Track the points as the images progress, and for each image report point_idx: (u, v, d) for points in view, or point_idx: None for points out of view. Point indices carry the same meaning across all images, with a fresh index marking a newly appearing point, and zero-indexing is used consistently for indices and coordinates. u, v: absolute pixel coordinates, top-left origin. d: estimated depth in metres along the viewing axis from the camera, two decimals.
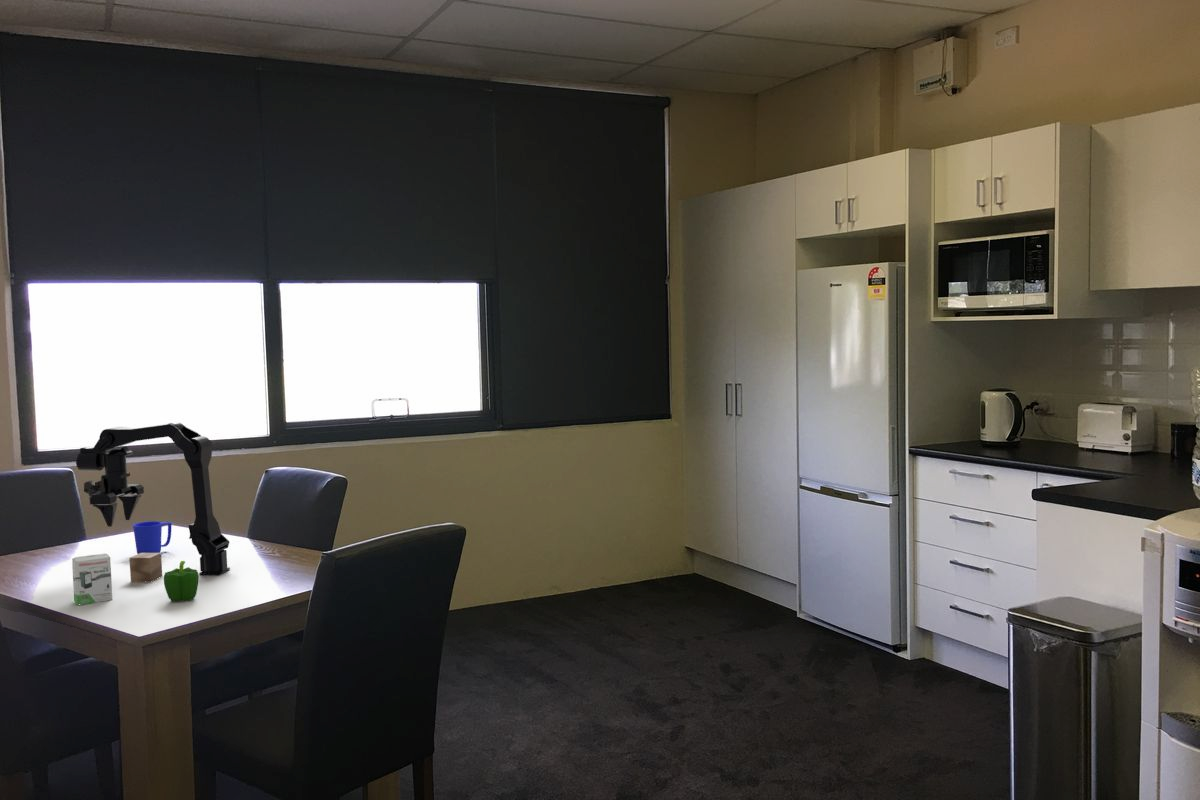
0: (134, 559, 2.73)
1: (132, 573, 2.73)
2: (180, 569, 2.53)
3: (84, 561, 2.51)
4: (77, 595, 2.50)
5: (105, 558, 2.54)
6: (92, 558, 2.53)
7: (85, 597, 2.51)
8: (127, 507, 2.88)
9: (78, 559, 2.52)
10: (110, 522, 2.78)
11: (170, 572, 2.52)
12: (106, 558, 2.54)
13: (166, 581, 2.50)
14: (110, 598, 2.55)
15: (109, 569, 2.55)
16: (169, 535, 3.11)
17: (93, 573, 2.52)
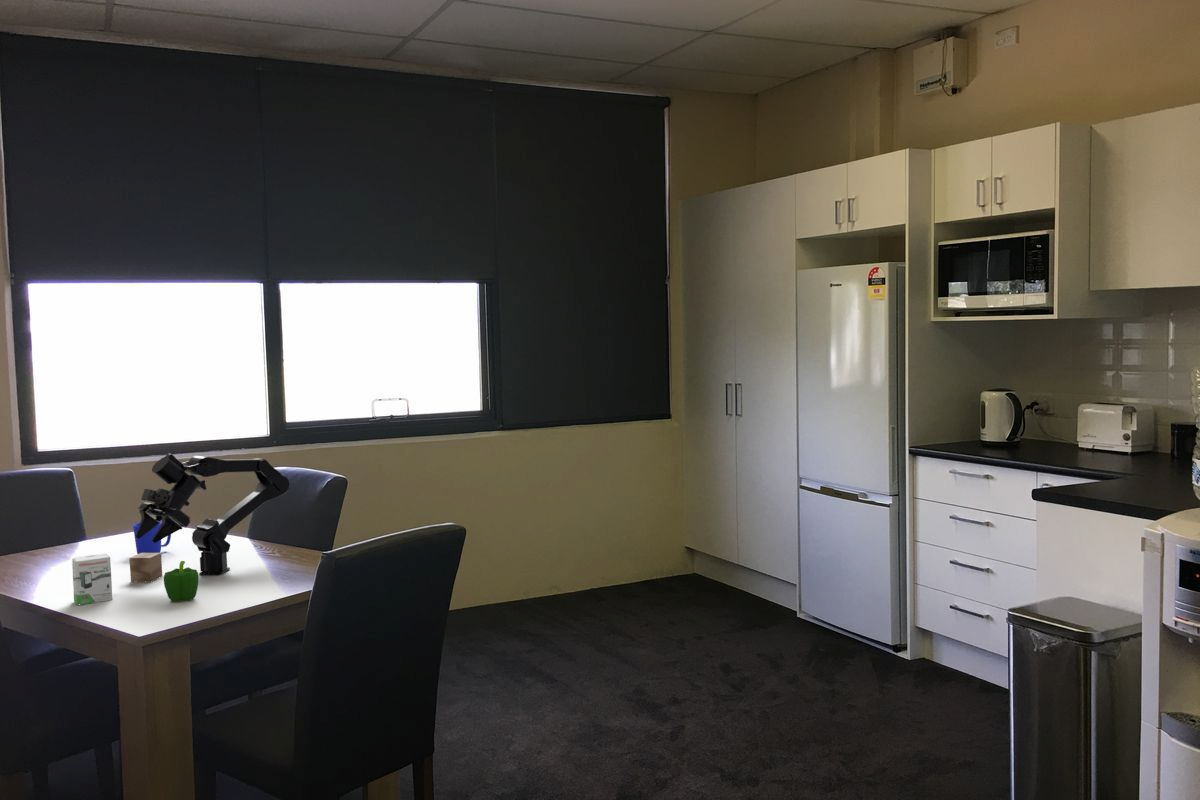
0: (134, 559, 2.73)
1: (132, 573, 2.73)
2: (180, 569, 2.53)
3: (84, 561, 2.51)
4: (77, 595, 2.50)
5: (105, 558, 2.54)
6: (92, 558, 2.53)
7: (85, 597, 2.51)
8: (145, 526, 2.70)
9: (78, 559, 2.52)
10: (158, 539, 2.63)
11: (170, 572, 2.52)
12: (106, 558, 2.54)
13: (166, 581, 2.50)
14: (110, 598, 2.55)
15: (109, 569, 2.55)
16: (169, 535, 3.11)
17: (93, 573, 2.52)
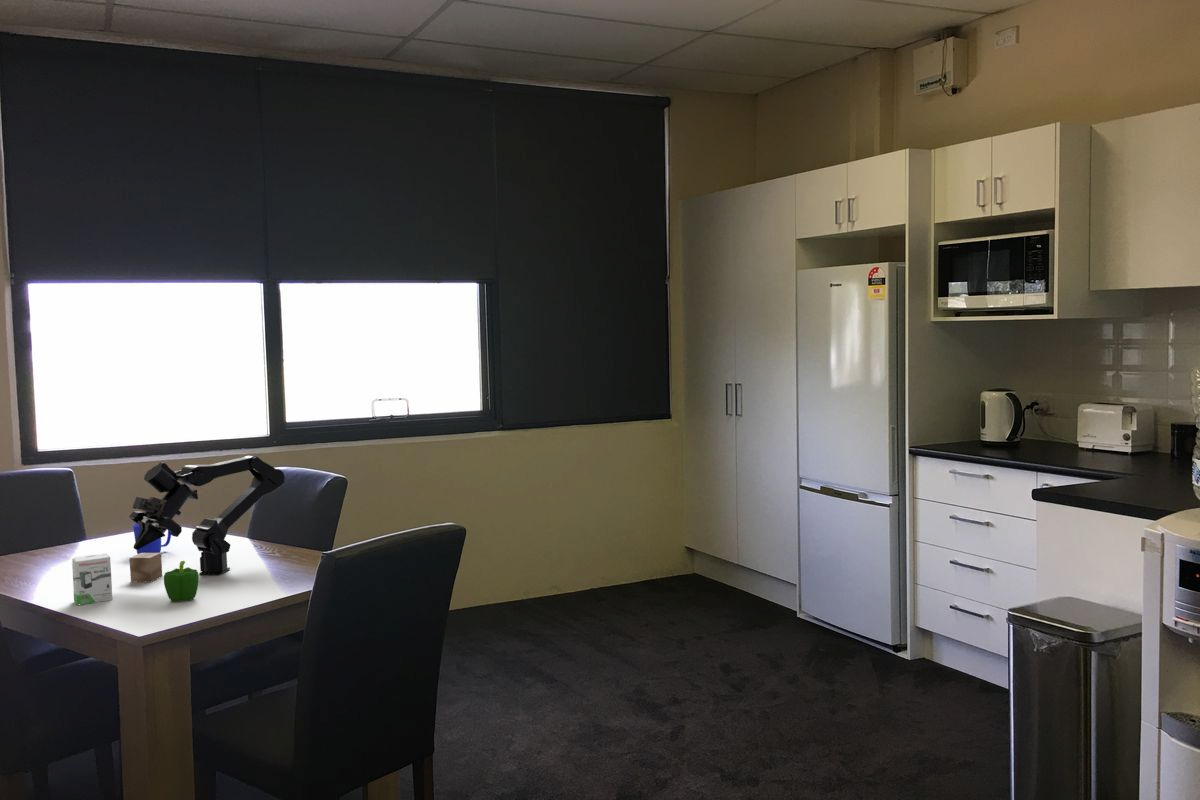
0: (134, 559, 2.73)
1: (132, 573, 2.73)
2: (180, 569, 2.53)
3: (84, 561, 2.51)
4: (77, 595, 2.50)
5: (105, 558, 2.54)
6: (92, 558, 2.53)
7: (85, 597, 2.51)
8: None
9: (78, 559, 2.52)
10: (141, 546, 2.64)
11: (170, 572, 2.52)
12: (106, 558, 2.54)
13: (166, 581, 2.50)
14: (110, 598, 2.55)
15: (109, 569, 2.55)
16: (169, 535, 3.11)
17: (93, 573, 2.52)
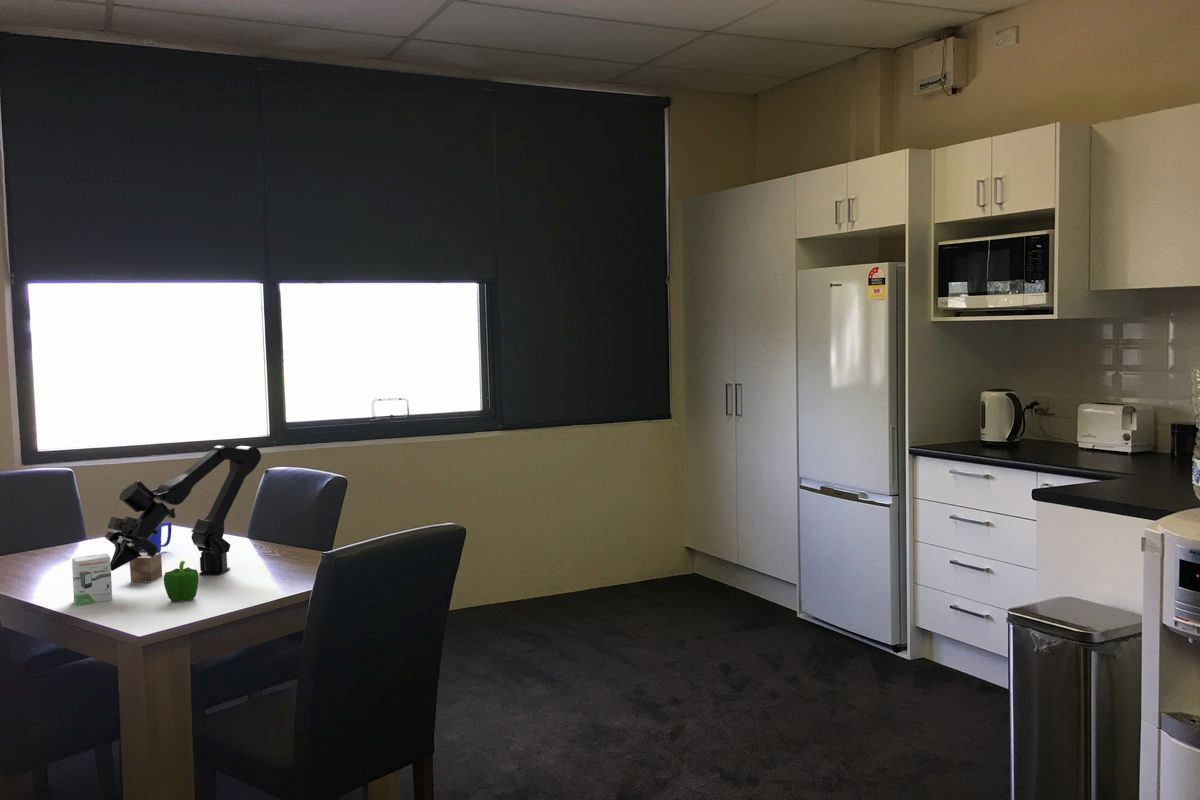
0: (134, 559, 2.73)
1: (132, 573, 2.73)
2: (180, 569, 2.53)
3: (84, 561, 2.51)
4: (77, 595, 2.50)
5: (105, 558, 2.54)
6: (92, 558, 2.53)
7: (85, 597, 2.51)
8: None
9: (78, 559, 2.52)
10: (116, 567, 2.59)
11: (170, 572, 2.52)
12: (106, 558, 2.54)
13: (166, 581, 2.50)
14: (110, 598, 2.55)
15: (109, 569, 2.55)
16: (169, 535, 3.11)
17: (93, 573, 2.52)
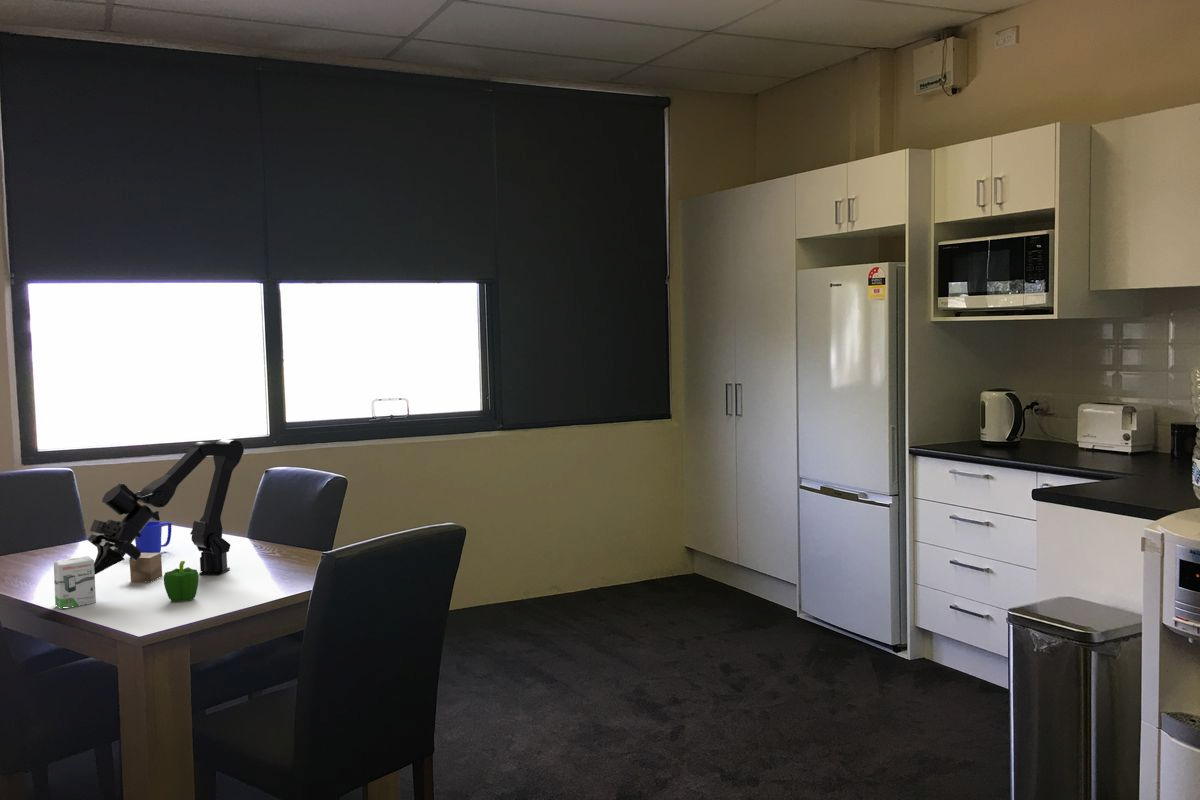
0: None
1: (132, 573, 2.73)
2: (180, 569, 2.53)
3: (68, 564, 2.47)
4: (61, 599, 2.47)
5: (89, 561, 2.51)
6: (75, 561, 2.50)
7: (69, 601, 2.48)
8: None
9: (61, 563, 2.48)
10: (99, 571, 2.55)
11: (170, 572, 2.52)
12: (90, 561, 2.51)
13: (166, 581, 2.50)
14: (94, 601, 2.52)
15: (93, 572, 2.52)
16: (169, 535, 3.11)
17: (77, 577, 2.49)
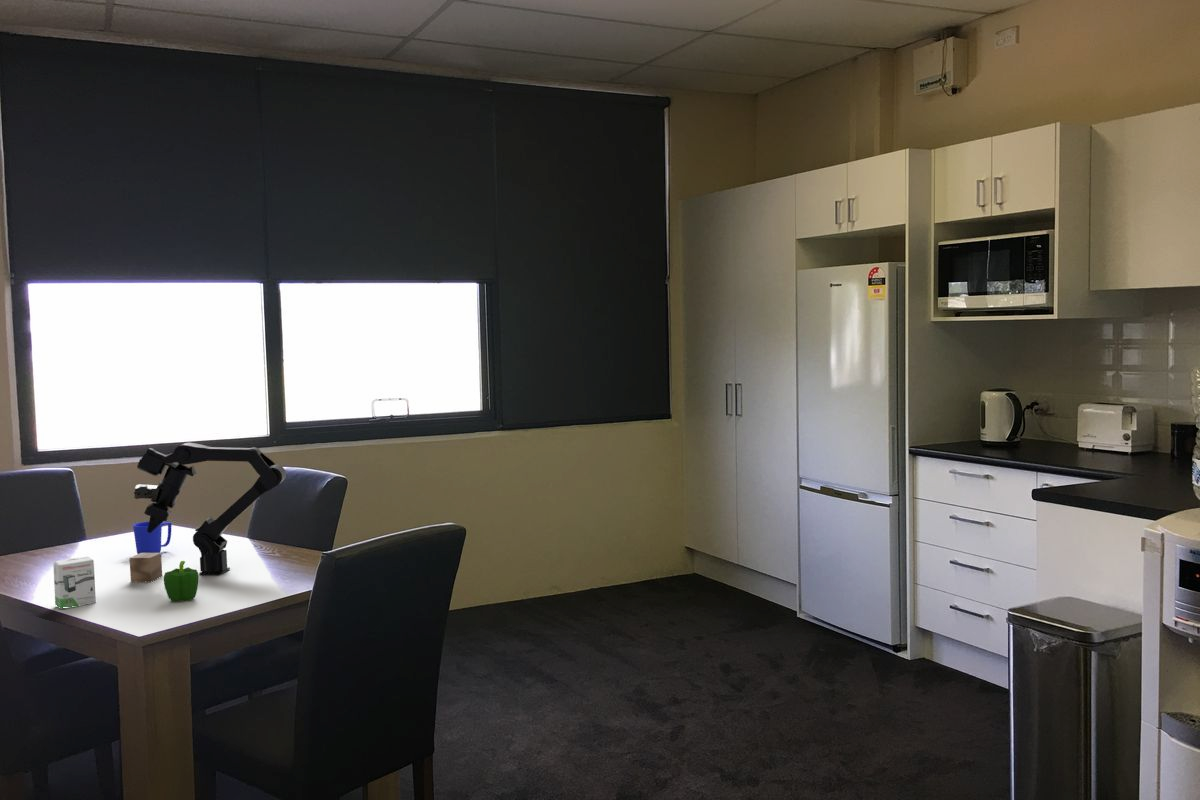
0: (134, 559, 2.73)
1: (132, 573, 2.73)
2: (180, 569, 2.53)
3: (68, 564, 2.48)
4: (61, 599, 2.47)
5: (88, 561, 2.51)
6: (75, 561, 2.50)
7: (69, 601, 2.48)
8: None
9: (61, 563, 2.48)
10: (152, 529, 2.78)
11: (170, 572, 2.52)
12: (89, 561, 2.51)
13: (166, 581, 2.50)
14: (93, 601, 2.52)
15: (92, 572, 2.52)
16: (169, 535, 3.11)
17: (77, 577, 2.49)
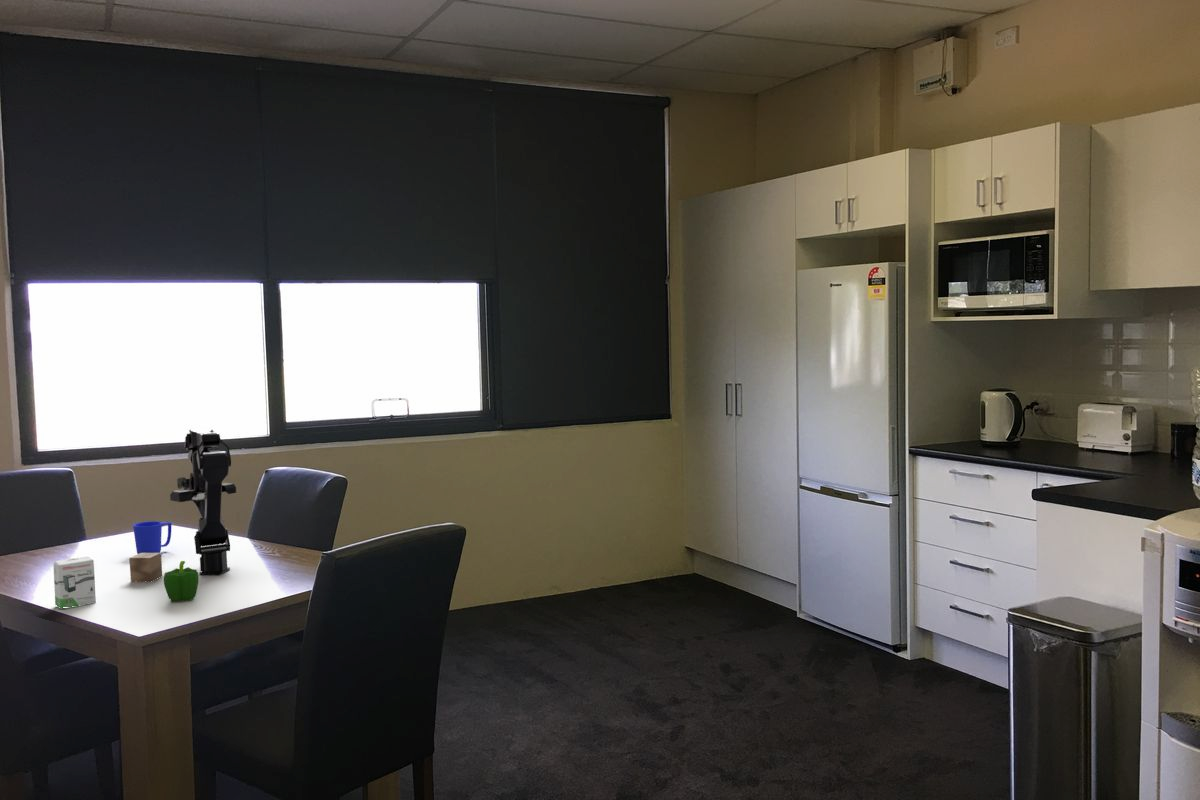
0: (134, 559, 2.73)
1: (132, 573, 2.73)
2: (180, 569, 2.53)
3: (68, 564, 2.48)
4: (61, 599, 2.47)
5: (88, 561, 2.51)
6: (75, 561, 2.50)
7: (69, 601, 2.48)
8: None
9: (61, 563, 2.48)
10: (204, 516, 2.93)
11: (170, 572, 2.52)
12: (89, 561, 2.51)
13: (166, 581, 2.50)
14: (94, 601, 2.52)
15: (92, 572, 2.52)
16: (169, 535, 3.11)
17: (77, 577, 2.49)
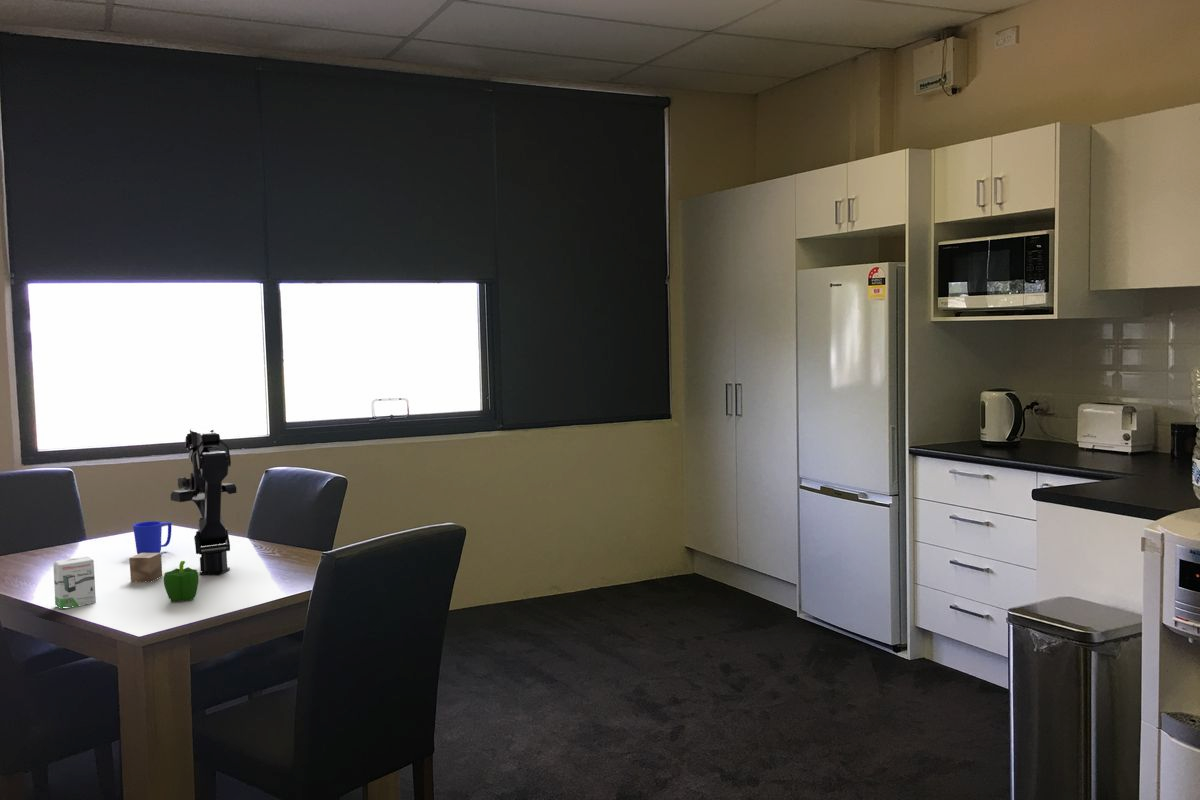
0: (134, 559, 2.73)
1: (132, 573, 2.73)
2: (180, 569, 2.53)
3: (68, 564, 2.48)
4: (61, 599, 2.47)
5: (88, 561, 2.51)
6: (75, 561, 2.50)
7: (69, 601, 2.48)
8: None
9: (61, 563, 2.48)
10: (204, 516, 2.93)
11: (170, 572, 2.52)
12: (89, 561, 2.51)
13: (166, 581, 2.50)
14: (93, 601, 2.52)
15: (92, 572, 2.52)
16: (169, 535, 3.11)
17: (77, 577, 2.49)
